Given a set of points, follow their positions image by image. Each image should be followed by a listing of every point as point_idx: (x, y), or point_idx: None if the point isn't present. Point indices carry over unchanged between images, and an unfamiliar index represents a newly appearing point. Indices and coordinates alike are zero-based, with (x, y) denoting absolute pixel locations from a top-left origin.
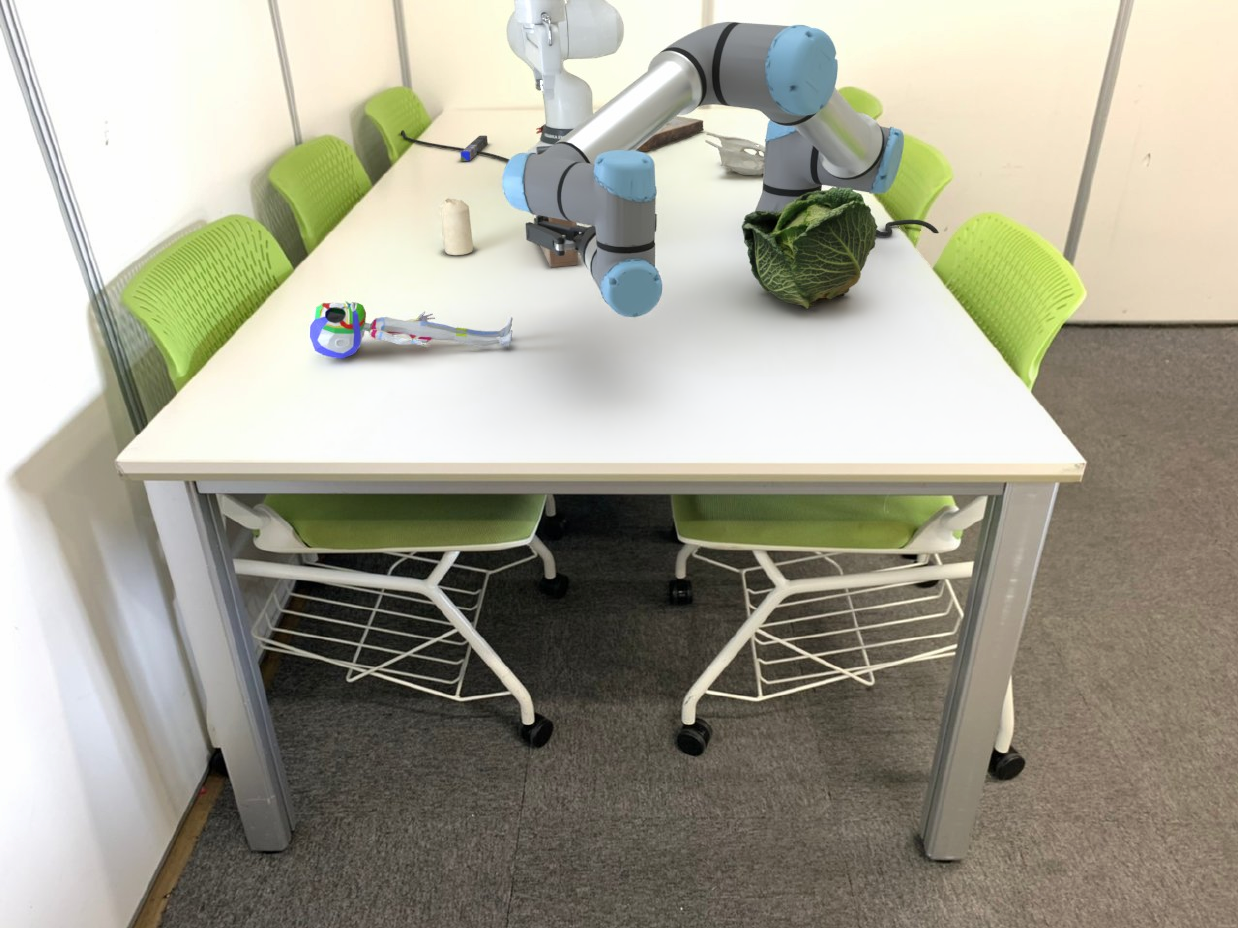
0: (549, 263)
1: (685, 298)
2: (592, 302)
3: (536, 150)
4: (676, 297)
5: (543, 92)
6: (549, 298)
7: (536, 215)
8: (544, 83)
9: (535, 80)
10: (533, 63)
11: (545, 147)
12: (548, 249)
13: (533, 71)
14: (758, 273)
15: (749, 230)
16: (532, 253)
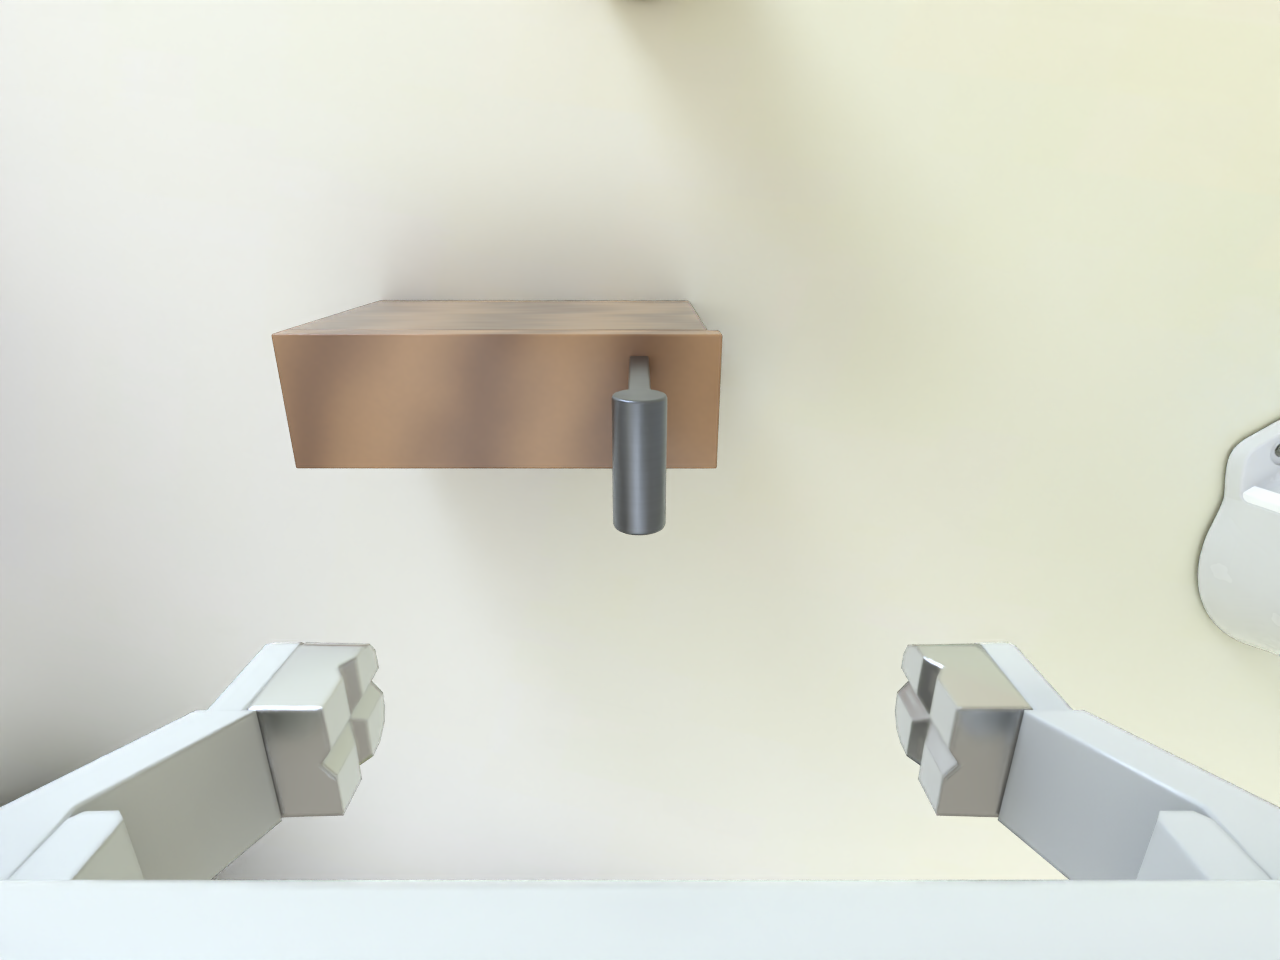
0: (398, 301)
1: (86, 628)
2: (48, 378)
3: (659, 394)
4: (93, 609)
5: (301, 678)
6: (80, 245)
7: (679, 313)
8: (79, 779)
9: (1003, 706)
10: (542, 945)
11: (622, 457)
12: (385, 307)
13: (1171, 785)
14: None
15: None
16: (550, 258)
